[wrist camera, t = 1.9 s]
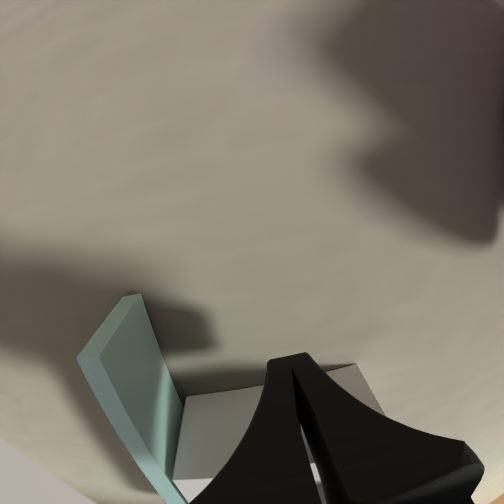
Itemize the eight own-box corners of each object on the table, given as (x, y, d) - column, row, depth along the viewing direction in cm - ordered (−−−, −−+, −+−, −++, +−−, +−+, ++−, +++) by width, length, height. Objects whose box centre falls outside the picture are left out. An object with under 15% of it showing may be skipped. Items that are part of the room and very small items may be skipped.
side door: (230, 499, 16) (231, 558, 12) (213, 501, 16) (211, 559, 12) (142, 291, 12) (98, 358, 8) (117, 296, 12) (66, 360, 8)
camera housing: (356, 482, 17) (379, 547, 11) (237, 505, 17) (239, 573, 11) (360, 362, 14) (411, 451, 8) (186, 396, 14) (169, 496, 8)
